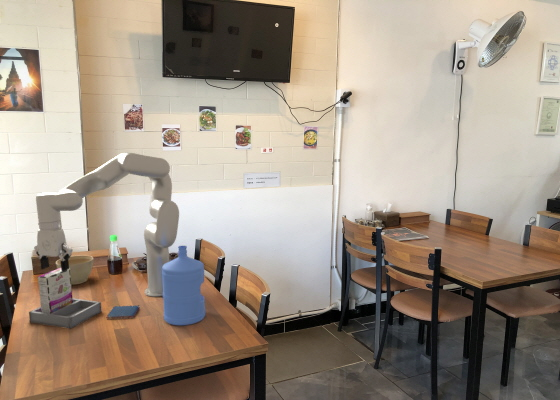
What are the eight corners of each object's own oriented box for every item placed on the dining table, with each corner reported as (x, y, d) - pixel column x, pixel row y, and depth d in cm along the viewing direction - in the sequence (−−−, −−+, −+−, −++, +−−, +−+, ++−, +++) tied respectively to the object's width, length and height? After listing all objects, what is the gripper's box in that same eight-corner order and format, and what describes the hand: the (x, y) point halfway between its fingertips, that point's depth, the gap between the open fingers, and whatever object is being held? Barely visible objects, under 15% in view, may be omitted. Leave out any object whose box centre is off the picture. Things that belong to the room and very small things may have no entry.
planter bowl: (60, 278, 210) (59, 256, 208) (96, 274, 214) (95, 254, 213) (54, 289, 194) (52, 266, 193) (92, 285, 199) (91, 262, 198)
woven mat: (113, 310, 172) (113, 305, 171) (140, 309, 173) (140, 304, 172) (105, 321, 161) (104, 316, 161) (133, 320, 162) (133, 315, 162)
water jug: (179, 330, 152) (176, 254, 148) (155, 318, 163) (152, 246, 159) (213, 317, 164) (212, 246, 160) (189, 306, 174) (187, 239, 170)
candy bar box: (63, 306, 172) (60, 267, 169) (73, 308, 170) (70, 268, 168) (40, 317, 161) (36, 275, 159) (50, 319, 160) (47, 277, 157)
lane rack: (101, 311, 169) (100, 302, 168) (70, 328, 154) (69, 318, 153) (63, 306, 175) (62, 296, 174) (29, 322, 160) (28, 311, 159)
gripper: (24, 226, 160) (29, 270, 162) (60, 228, 154) (65, 274, 157) (40, 222, 167) (45, 264, 169) (76, 224, 161) (80, 267, 164)
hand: (55, 269), depth 163 cm, fingers open, 9 cm apart
